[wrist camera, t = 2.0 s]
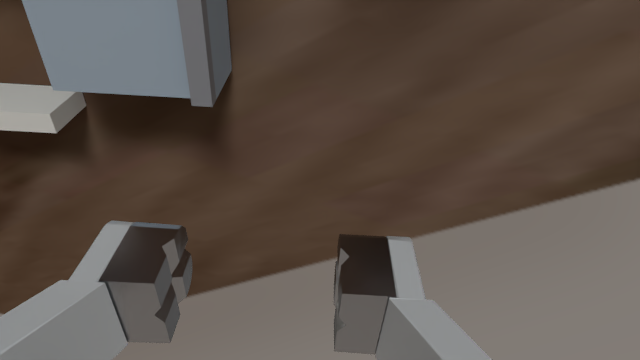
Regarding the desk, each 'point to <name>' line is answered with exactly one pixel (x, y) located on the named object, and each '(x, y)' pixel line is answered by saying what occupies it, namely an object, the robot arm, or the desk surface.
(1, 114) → the bay
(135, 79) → the grey-blue box
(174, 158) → the desk surface
